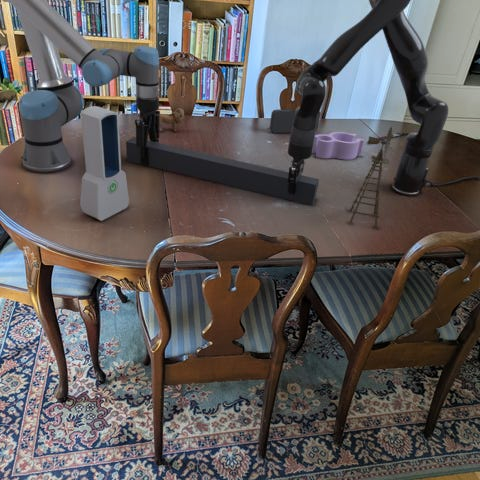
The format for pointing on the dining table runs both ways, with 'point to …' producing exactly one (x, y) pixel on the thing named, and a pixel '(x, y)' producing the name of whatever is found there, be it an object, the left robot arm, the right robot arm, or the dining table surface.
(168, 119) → the lion figurine
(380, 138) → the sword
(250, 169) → the bar
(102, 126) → the electronic device
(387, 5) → the right robot arm
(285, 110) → the handheld gaming console
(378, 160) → the miniature windmill
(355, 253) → the dining table surface
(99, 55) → the left robot arm
